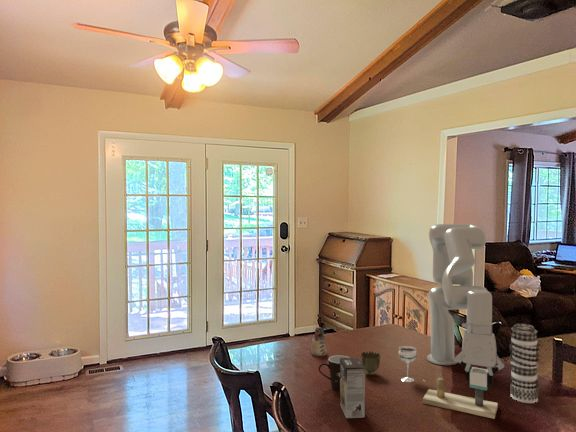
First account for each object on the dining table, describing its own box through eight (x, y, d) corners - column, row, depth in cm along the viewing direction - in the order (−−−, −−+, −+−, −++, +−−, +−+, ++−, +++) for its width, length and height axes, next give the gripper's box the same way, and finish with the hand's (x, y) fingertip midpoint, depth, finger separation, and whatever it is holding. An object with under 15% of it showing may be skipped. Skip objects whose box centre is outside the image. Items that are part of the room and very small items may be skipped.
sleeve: (472, 381, 146) (472, 366, 146) (488, 384, 143) (488, 369, 143) (469, 387, 141) (469, 371, 141) (486, 390, 139) (486, 374, 139)
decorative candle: (538, 406, 145) (539, 330, 144) (507, 399, 150) (507, 326, 149) (540, 396, 152) (540, 324, 152) (510, 390, 157) (510, 320, 157)
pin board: (429, 393, 155) (429, 372, 155) (497, 407, 144) (497, 384, 144) (422, 403, 148) (422, 380, 147) (494, 418, 136) (494, 394, 136)
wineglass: (404, 374, 172) (404, 344, 172) (420, 379, 168) (420, 348, 167) (395, 379, 168) (394, 348, 168) (411, 384, 163) (410, 352, 163)
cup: (380, 378, 169) (380, 357, 169) (360, 377, 170) (360, 356, 170) (380, 371, 176) (380, 351, 176) (361, 370, 178) (361, 350, 177)
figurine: (329, 352, 200) (329, 326, 199) (322, 357, 194) (322, 330, 193) (315, 350, 203) (315, 324, 203) (308, 354, 197) (308, 327, 197)
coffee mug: (354, 383, 164) (354, 356, 164) (349, 392, 156) (349, 364, 156) (323, 379, 168) (323, 353, 168) (318, 388, 160) (317, 361, 160)
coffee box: (339, 405, 146) (339, 357, 146) (358, 404, 147) (358, 356, 146) (345, 418, 137) (345, 367, 137) (365, 417, 138) (365, 366, 137)
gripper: (449, 327, 143) (449, 383, 144) (507, 335, 134) (507, 394, 135) (453, 322, 150) (453, 375, 150) (509, 329, 141) (509, 385, 141)
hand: (479, 384), depth 142 cm, fingers closed on sleeve, 5 cm apart
